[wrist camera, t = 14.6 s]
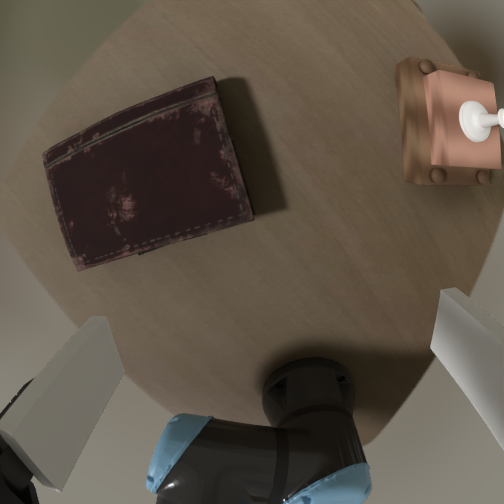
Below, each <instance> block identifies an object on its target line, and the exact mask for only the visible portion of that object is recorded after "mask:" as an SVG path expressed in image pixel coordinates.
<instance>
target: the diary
mask: <svg viewBox="0 0 504 504" xmlns="http://www.w3.org/2000/svg"><path fill="white" fill-rule="evenodd" d="M216 87H217V83H216V80H215V78H214V76H212V77H208V78H205V79H202V80H199V81H197V82H194V83H191V84H188V85H185V86H183V87H180V88H177V89H175V90H172V91H170V92H167V93H164V94H162V95H159V96H157V97H154V98H151V99H149V100H146V101H144V102H141V103H139V104H136V105H134V106H131V107H129V108H127V109H124V110H122V111H120V112H117V113H115V114H113V115H111V116H109V117H107V118H105V119H103V120H101V121H99V122H98V123H96V124H94V125H92V126H90V127H88V128H86V129H85V130H83V131H81V132H79V133H77V134H75V135H73V136H71V137H69V138H67V139H65V140H64V141H62V142H60V143H58V144H56V145H54V146H52V147H51V148H50V149H48V150H47V151H45V152H44V153H42V159H43V163H44V167H45V172H46V176H47V180H48V184H49V188H50V193H51V197H52V201H53V205H54V209H55V213H56V216H57V219H58V222H59V226H60V229H61V232H62V235H63V238H64V241H65V243H66V246H67V248H68V251H69V253H70V256H71V258H72V261H73V263H74V266H75V268H76V269H77V271H82V270H85V269H88V268H91V267H94V266H98V265H101V264H104V263H107V262H110V261H114V260H117V259H120V258H123V257H127V256H130V255H133V254H137V253H138V255H142V254H144V253H146V252H148V251H151V250H153V249H155V248H157V247H160V246H164V245H167V244H171V243H175V242H178V241H182V240H187V239H191V238H195V237H199V236H202V235H206V234H207V233H210V232H214V231H217V230H221V229H224V228H228V227H232V226H235V225H239V224H243V223H246V222H250V221H254V217H253V215H255V212H254V209H253V205H252V202H251V198H250V195H249V192H248V188H247V185H246V182H245V178H244V175H243V172H242V168H241V165H240V162H239V158H238V155H237V152H236V148H235V145H234V142H233V141H232V140H231V137H230V134H229V130H228V127H227V123H226V120H225V116H224V113H223V109H222V106H221V102H220V100H221V99H219V96H218V92H217V89H216Z"/></svg>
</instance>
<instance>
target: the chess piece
mask: <svg viewBox="0 0 504 504" xmlns="http://www.w3.org/2000/svg"><path fill="white" fill-rule="evenodd" d="M459 121H460V125H461V128H462V130H463V132H464V134H465V135H466V136H467V137H468V138H469V139H470V140H471V141H473V142H482V141H485V140H486V139H487V138H488V137H489V135H490V132H491V126H494V125H499V124H500V125H501V127H502V128H504V109H500V110H499V111H498V115H497V114H488V112H487V110H486V109H485V108H484V106H483V105H481V104H480V103H479V102H476V101H466V102H465V103H463V104H462V106H461V108H460V111H459Z"/></svg>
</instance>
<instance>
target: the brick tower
mask: <svg viewBox="0 0 504 504" xmlns="http://www.w3.org/2000/svg"><path fill="white" fill-rule="evenodd" d="M393 68H394V74H395V80H396V87H397V94H398V102H399V110H400V120H401V130H402V143H403V159H404V181H405V182H410V183H415V184H420V185H471V186H490V169H500V170H501V149H500V134H499V125H494V126H491V132H490V135H489V137H488V138H487V139H486V140H485V141H482V142H473V141H471V140H470V139H469V138H468V137H467V136H466V135H465V134H464V132H463V130H462V128H461V125H460V121H459V111H460V108H461V106H462V104H463V103H465V102H466V101H476V102H479V103H480V104H481V105H483V106H484V108H485V109H486V110H487V112H488V114H497V106H496V99H495V93H494V86H493V83H490V82H487V81H484V80H481V77H480V73H479V72H476V71H474V70H468V69H465V68H461V67H457V66H453V65H449V64H444V63H440V62H435V61H430V60H427V59H419V58H413V57H408V58H407V59H405V60H403V61H402V62H400V63H399V64H397V65H395V66H394V67H393ZM497 115H498V114H497Z"/></svg>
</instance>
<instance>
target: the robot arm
mask: <svg viewBox="0 0 504 504" xmlns="http://www.w3.org/2000/svg"><path fill="white" fill-rule="evenodd" d="M430 348H431V350H432V351H433V352H434V354H435V355H436V356H437V357H438V359H439V360H440V361H441V363H442V364H443V365H444V366H445V368H446V369H447V370H448V372H449V373H450V374H451V376H452V377H453V378H454V379H455V381H456V382H457V384H458V385H459V386H460V388H461V389H462V391H463V392H464V393H465V395H466V396H467V397H468V399H469V400H470V402H471V403H472V404H473V406H474V407H475V409H476V410H477V411H478V413H479V414H480V416H481V417H482V419H483V420H484V422H485V423H486V425H487V426H488V428H489V429H490V431H491V432H492V434H493V435H494V436H495V438H496V440H497V441H498V443H499V444H500V446H501V447H502V449H503V451H504V326H503V325H502V324H501V323H500V322H498V321H497V320H496V319H495V318H494V317H492V316H491V315H490V314H489V313H487V312H486V311H485V310H484V309H482V308H481V307H480V306H479V305H477V304H476V303H475V302H474V301H472V300H471V299H470V298H469V297H467V296H466V295H465V294H463V293H462V292H461V291H460V290H458V289H457V288H456V287H455V288H449V289H443V290H441V293H440V299H439V306H438V311H437V317H436V322H435V327H434V332H433V337H432V342H431V346H430ZM124 373H125V370H124V367H123V365H122V362H121V359H120V356H119V353H118V350H117V347H116V345H115V342H114V338H113V335H112V332H111V329H110V326H109V323H108V319H107V316H91V317H90V318H89V319H88V320H87V321H86V322H85V323H84V324H83V325H82V326H81V327H80V328H79V330H78V331H77V332H76V333H75V334H74V335H73V336H72V337H71V338H70V339H69V340H68V341H67V342H66V343H65V345H64V346H63V347H62V348H61V349H60V350H59V351H58V352H57V353H56V354H55V356H54V357H53V358H52V359H51V360H50V361H49V362H48V363H47V365H46V366H45V367H44V368H43V369H42V370H41V371H40V373H39V374H38V375H37V376H36V377H35V378H33V379H32V380H30V381H29V382H27V383H26V384H25V385H24V386H23V387H22V388H21V389H20V391H19V392H18V393H17V395H15V397H14V398H13V399H12V400H11V403H9V404H8V405H7V406H6V408H5V409H4V410H3V411H2V412H1V413H0V504H39V501H38V497H37V493H36V489H35V486H34V484H33V483H32V482H31V481H30V480H31V479H32V477H33V475H34V476H35V477H36V478H37V479H38V480H39V482H40V483H41V484H42V485H43V486H46V487H48V488H50V489H53V490H55V491H58V492H60V493H61V492H62V490H63V488H64V485H65V484H66V482H67V480H68V478H69V476H70V474H71V472H72V470H73V468H74V466H75V464H76V462H77V460H78V458H79V456H80V454H81V452H82V450H83V448H84V446H85V444H86V442H87V440H88V439H89V437H90V435H91V433H92V431H93V429H94V427H95V425H96V423H97V422H98V420H99V418H100V416H101V414H102V413H103V411H104V409H105V406H106V405H107V403H108V402H109V400H110V398H111V396H112V394H113V393H114V391H115V389H116V387H117V386H118V384H119V382H120V380H121V378H122V377H123V375H124ZM354 398H355V388H354V384H353V381H352V379H351V376H350V374H349V372H348V371H347V370H346V369H345V368H344V367H343V366H342V365H340V364H339V363H337V362H334V361H331V360H328V359H322V358H308V359H302V360H298V361H294V362H292V363H289V364H287V365H285V366H283V367H281V368H280V369H278V370H277V371H276V372H274V373H273V374H272V375H271V376H270V377H269V379H268V380H267V381H266V383H265V385H264V388H263V392H262V405H263V410H264V412H265V415H266V416H267V418H268V420H269V422H270V424H271V426H272V427H270V426H261V425H252V424H245V423H239V422H233V421H227V420H221V419H216V418H214V417H213V416H208V417H206V416H199V415H193V414H187V413H182V414H178V415H176V416H174V417H173V418H172V419H171V420H170V421H169V423H168V424H167V426H166V427H165V429H164V431H163V433H162V435H161V437H160V439H159V441H158V444H157V446H156V449H155V451H154V454H153V457H152V460H151V463H150V466H149V470H148V476H147V480H146V487H147V489H148V490H150V491H151V492H152V493H154V494H157V493H158V497H157V502H156V504H362V503H363V502H364V501H365V500H366V499H367V498H368V497H369V495H370V493H371V490H372V483H371V477H370V471H369V470H370V467H369V465H368V463H367V461H366V458H365V455H364V451H363V448H362V445H361V442H360V438H359V435H358V432H357V429H356V426H355V423H354V420H353V407H354Z"/></svg>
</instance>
